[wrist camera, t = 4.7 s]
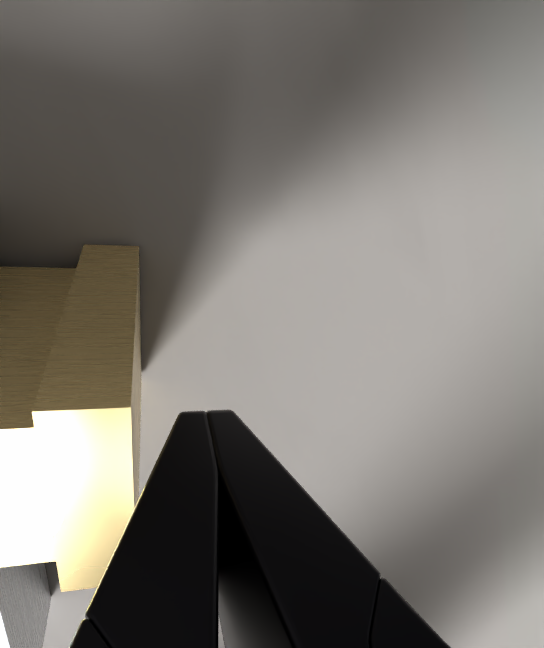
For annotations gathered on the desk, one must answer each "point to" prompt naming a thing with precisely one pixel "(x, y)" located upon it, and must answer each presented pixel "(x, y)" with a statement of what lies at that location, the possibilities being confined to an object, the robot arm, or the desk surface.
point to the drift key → (69, 411)
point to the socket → (23, 605)
